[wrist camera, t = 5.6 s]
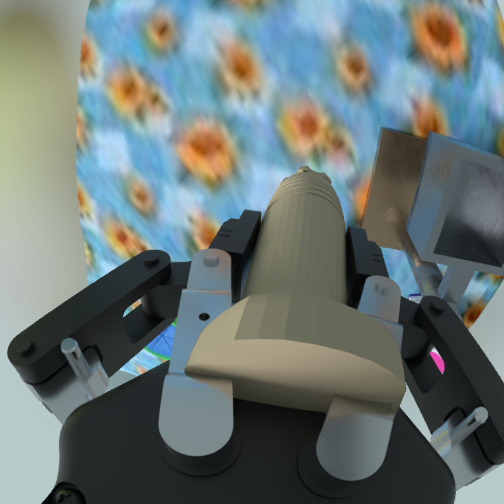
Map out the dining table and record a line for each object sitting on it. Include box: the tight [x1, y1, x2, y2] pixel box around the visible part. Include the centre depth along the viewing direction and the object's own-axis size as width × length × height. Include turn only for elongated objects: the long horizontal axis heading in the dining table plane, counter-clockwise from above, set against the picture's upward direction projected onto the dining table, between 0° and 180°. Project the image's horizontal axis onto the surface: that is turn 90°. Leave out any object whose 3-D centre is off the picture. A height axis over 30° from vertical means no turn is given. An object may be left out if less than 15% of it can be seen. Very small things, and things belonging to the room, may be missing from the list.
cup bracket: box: [360, 128, 504, 324], centre depth 26 cm, size 17×14×18 cm
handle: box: [184, 166, 406, 417], centre depth 12 cm, size 5×6×15 cm
